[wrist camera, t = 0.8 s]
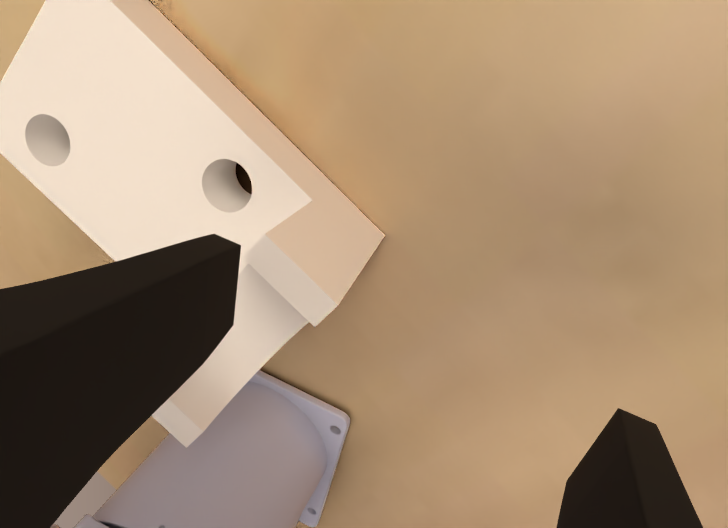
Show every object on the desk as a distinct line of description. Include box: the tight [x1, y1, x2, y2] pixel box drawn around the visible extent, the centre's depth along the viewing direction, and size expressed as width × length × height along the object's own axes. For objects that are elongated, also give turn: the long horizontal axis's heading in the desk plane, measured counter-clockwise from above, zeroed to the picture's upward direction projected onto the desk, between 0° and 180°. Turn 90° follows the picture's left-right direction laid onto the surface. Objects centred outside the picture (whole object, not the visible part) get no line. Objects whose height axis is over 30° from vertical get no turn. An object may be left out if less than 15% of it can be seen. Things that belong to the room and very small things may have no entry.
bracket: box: [0, 0, 385, 448], centre depth 19 cm, size 13×7×8 cm, turn 50°
